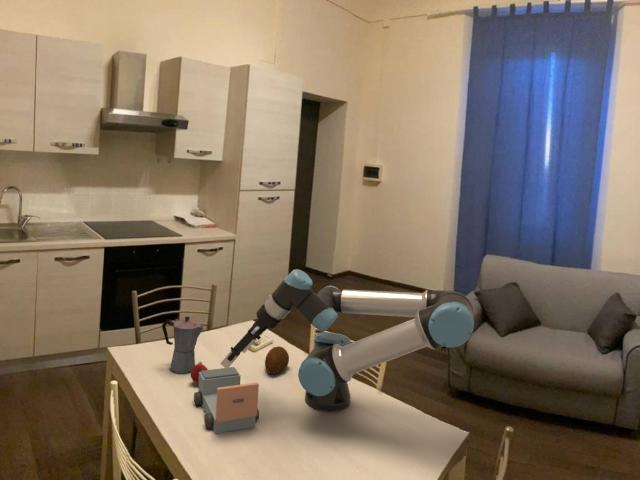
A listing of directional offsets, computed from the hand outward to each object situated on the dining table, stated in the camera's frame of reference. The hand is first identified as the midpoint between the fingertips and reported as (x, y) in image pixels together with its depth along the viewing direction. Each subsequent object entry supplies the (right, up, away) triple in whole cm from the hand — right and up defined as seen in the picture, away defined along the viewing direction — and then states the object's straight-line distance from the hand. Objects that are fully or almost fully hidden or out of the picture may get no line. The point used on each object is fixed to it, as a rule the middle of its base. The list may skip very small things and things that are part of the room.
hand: (233, 357), depth 170 cm
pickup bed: (-2, -16, -3) cm, 17 cm away
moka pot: (-22, -9, +24) cm, 34 cm away
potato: (+11, -11, +29) cm, 33 cm away
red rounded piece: (-14, -12, +14) cm, 23 cm away
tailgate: (+3, -14, -14) cm, 20 cm away
